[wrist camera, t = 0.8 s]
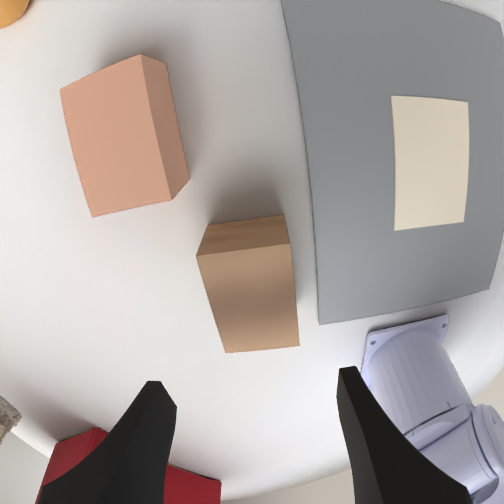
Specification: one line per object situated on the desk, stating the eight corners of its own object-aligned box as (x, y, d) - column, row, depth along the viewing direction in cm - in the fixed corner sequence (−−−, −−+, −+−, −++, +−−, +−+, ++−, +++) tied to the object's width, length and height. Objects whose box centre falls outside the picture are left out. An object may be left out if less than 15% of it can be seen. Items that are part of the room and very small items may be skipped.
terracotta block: (190, 178, 16) (171, 200, 13) (122, 193, 17) (92, 217, 13) (167, 63, 13) (140, 53, 10) (97, 88, 14) (59, 89, 10)
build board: (485, 285, 19) (489, 289, 19) (318, 319, 21) (319, 325, 20) (495, 23, 9) (500, 22, 8) (278, -11, 11) (278, -16, 10)
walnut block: (293, 305, 21) (299, 345, 17) (230, 312, 21) (225, 353, 17) (283, 213, 17) (290, 243, 14) (208, 224, 18) (195, 256, 14)
